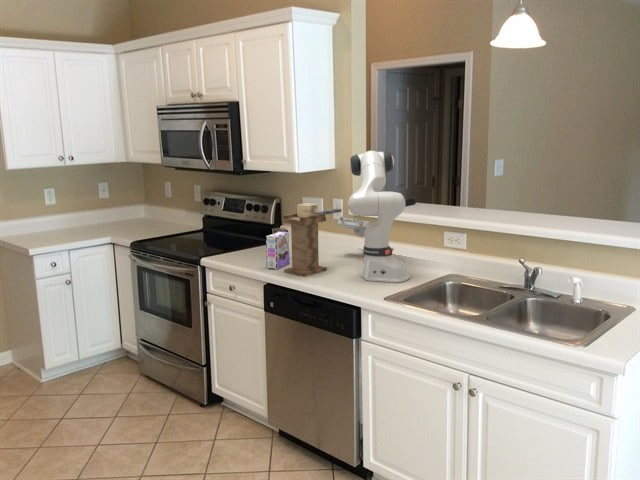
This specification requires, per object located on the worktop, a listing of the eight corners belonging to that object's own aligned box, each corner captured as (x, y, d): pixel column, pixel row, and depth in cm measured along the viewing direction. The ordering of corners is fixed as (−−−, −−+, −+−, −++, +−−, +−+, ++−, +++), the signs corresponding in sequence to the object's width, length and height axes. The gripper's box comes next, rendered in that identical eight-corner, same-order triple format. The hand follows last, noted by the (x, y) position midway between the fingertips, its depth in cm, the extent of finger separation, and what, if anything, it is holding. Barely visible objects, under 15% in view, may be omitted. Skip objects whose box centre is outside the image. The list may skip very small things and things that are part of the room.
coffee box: (289, 260, 307) (288, 229, 304) (277, 261, 305) (276, 230, 302) (284, 256, 316) (283, 227, 313) (272, 258, 313) (271, 228, 310)
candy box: (276, 269, 287) (275, 236, 284) (266, 268, 289) (265, 235, 286) (290, 263, 299) (289, 231, 296) (279, 262, 302) (278, 231, 299)
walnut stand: (307, 266, 293) (306, 211, 288) (326, 270, 285) (325, 213, 279) (284, 272, 282) (282, 215, 276) (303, 276, 273) (302, 217, 268)
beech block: (333, 210, 299) (333, 199, 298) (345, 212, 294) (345, 200, 293) (297, 217, 281) (297, 204, 279) (309, 218, 275) (309, 205, 274)
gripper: (348, 221, 319) (334, 211, 309) (379, 225, 306) (364, 215, 296) (345, 232, 318) (330, 222, 308) (375, 236, 305) (360, 226, 295)
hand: (347, 218), depth 302 cm, fingers open, 8 cm apart
